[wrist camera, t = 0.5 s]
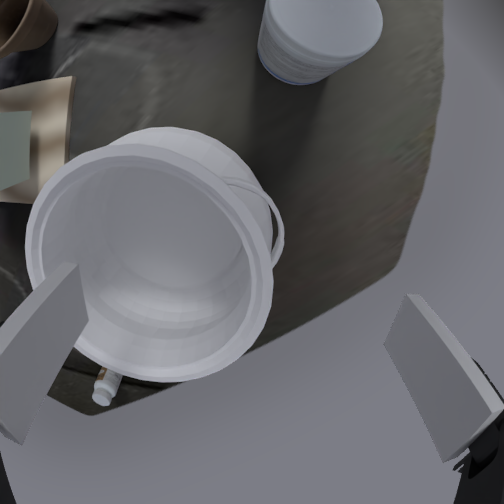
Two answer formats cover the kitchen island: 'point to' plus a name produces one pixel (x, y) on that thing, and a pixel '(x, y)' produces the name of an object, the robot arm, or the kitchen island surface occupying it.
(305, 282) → the kitchen island surface
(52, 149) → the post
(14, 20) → the flower pot
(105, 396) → the pill bottle
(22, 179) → the cube with orange handle
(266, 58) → the supplement tub
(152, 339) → the pot
